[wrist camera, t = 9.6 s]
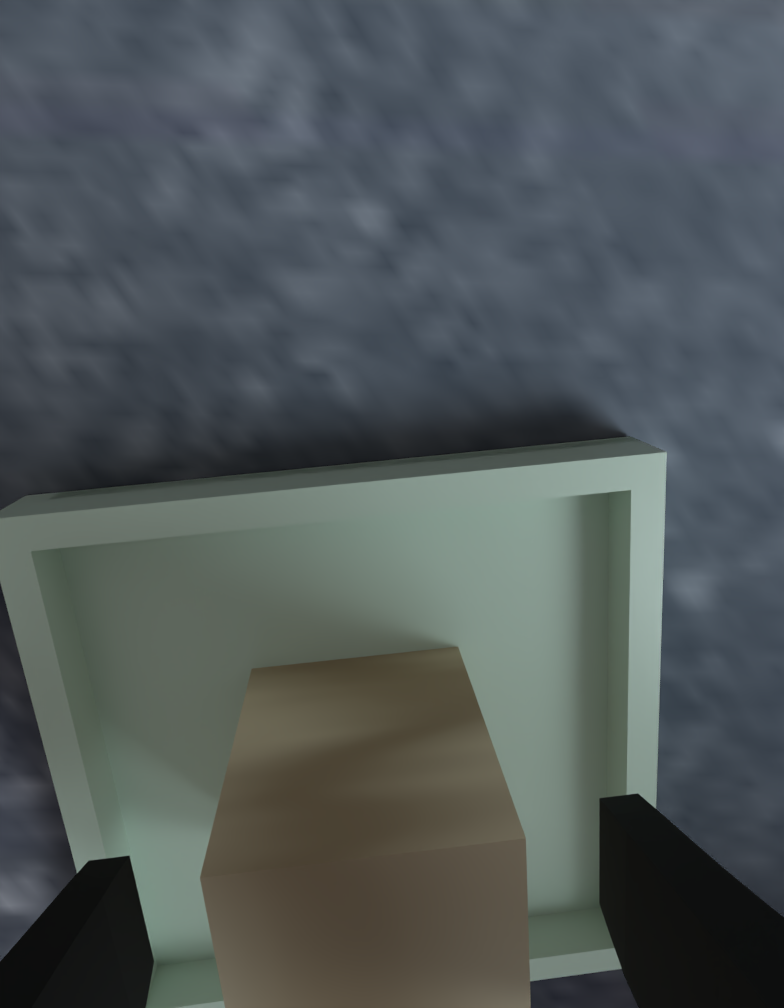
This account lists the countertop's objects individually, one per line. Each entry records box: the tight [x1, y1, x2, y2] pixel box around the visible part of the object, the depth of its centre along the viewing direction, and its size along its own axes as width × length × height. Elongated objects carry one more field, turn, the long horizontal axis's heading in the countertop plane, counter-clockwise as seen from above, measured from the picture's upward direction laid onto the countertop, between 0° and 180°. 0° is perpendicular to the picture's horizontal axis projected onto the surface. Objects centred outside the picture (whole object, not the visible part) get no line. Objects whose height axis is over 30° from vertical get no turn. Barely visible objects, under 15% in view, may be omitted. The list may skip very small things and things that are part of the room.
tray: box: [0, 436, 667, 1008], centre depth 13 cm, size 11×11×2 cm
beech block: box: [200, 647, 531, 1008], centre depth 11 cm, size 4×4×5 cm
